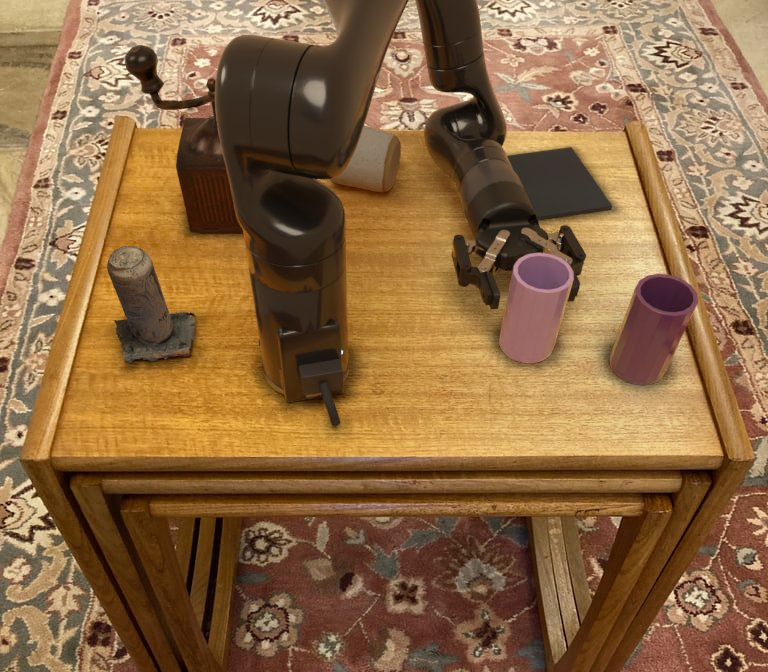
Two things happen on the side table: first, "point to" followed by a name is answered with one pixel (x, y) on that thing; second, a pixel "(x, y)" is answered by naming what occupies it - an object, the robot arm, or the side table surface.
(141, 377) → the side table surface
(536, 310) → the lilac cup
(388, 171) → the ceramic mug
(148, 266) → the grey post on base
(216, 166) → the manual coffee grinder
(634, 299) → the plum cup
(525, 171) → the placemat
